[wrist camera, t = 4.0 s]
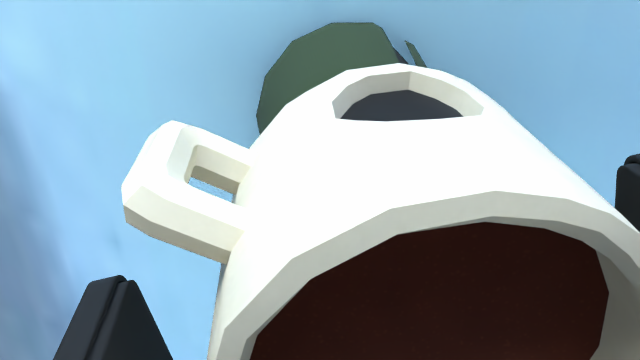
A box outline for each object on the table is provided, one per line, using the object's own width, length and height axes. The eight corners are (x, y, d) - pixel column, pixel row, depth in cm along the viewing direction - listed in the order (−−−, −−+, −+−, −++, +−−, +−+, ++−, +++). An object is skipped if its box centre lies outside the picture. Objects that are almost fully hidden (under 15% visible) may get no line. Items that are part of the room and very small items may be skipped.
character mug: (524, 87, 20) (888, 351, 8) (419, 238, 22) (577, 601, 11) (247, -67, 17) (182, -4, 5) (163, 128, 19) (-5, 464, 8)
